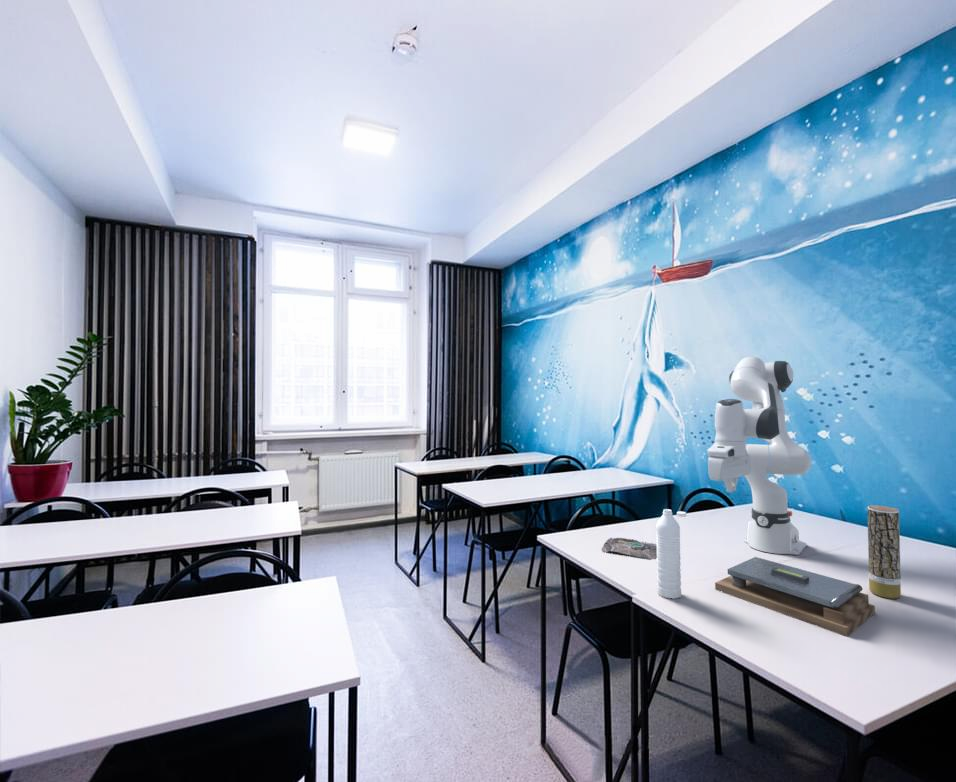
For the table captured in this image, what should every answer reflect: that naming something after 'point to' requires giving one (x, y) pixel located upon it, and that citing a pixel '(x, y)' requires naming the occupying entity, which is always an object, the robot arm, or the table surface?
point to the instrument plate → (796, 582)
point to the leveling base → (802, 605)
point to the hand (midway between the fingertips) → (731, 491)
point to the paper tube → (884, 551)
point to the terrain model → (630, 548)
